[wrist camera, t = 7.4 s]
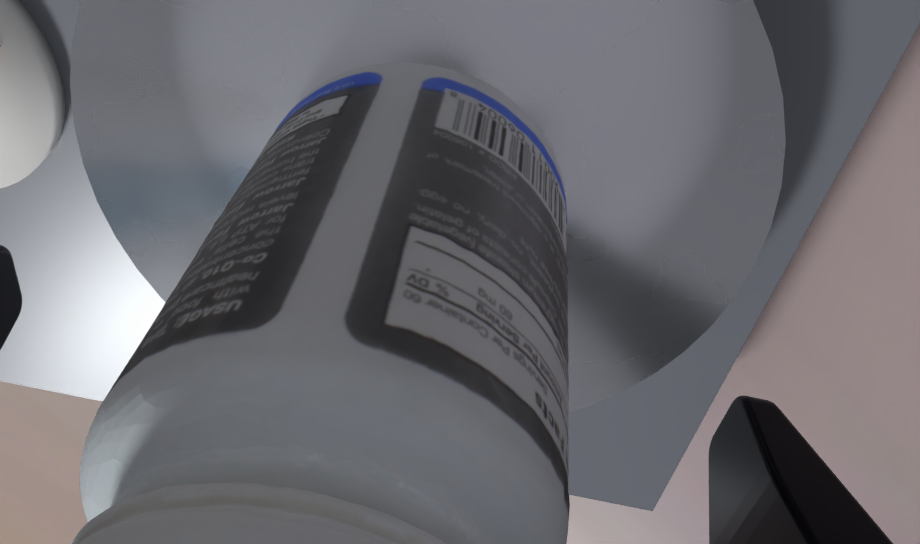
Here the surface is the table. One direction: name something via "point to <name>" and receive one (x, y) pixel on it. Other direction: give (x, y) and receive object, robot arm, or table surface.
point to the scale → (589, 429)
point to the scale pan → (507, 70)
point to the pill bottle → (358, 338)
